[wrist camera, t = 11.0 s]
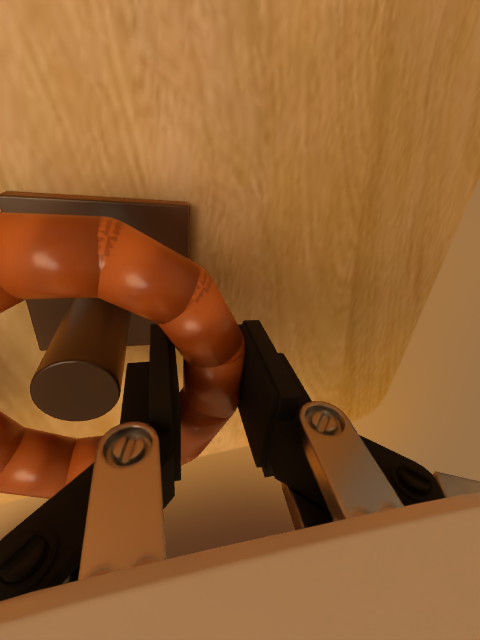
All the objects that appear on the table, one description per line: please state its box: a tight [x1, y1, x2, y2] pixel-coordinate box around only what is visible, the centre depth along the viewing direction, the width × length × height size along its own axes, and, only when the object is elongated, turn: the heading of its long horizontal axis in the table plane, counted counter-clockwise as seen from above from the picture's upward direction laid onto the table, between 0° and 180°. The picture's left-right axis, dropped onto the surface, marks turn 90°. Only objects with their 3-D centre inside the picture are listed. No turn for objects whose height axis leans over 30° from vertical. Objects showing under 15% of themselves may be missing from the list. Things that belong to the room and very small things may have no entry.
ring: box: [0, 212, 246, 499], centre depth 9 cm, size 10×10×2 cm
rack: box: [0, 191, 190, 421], centre depth 13 cm, size 8×8×9 cm
